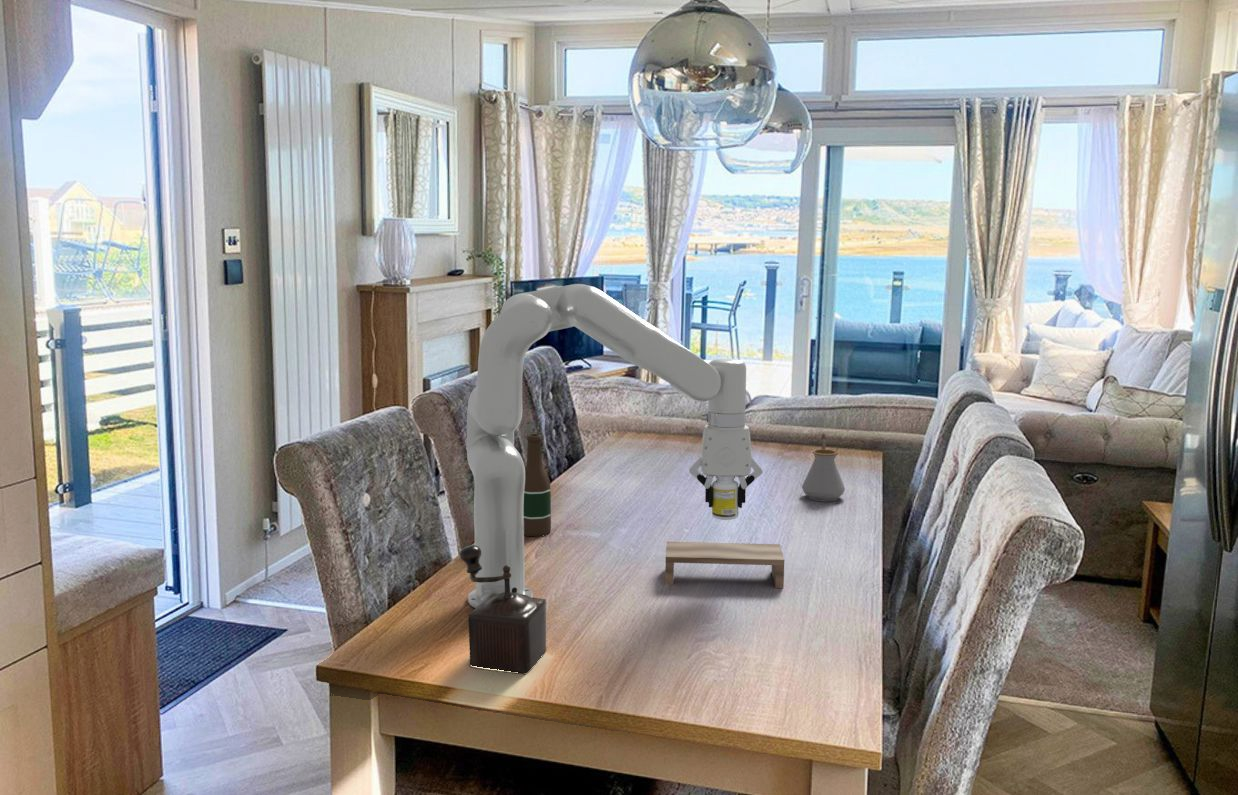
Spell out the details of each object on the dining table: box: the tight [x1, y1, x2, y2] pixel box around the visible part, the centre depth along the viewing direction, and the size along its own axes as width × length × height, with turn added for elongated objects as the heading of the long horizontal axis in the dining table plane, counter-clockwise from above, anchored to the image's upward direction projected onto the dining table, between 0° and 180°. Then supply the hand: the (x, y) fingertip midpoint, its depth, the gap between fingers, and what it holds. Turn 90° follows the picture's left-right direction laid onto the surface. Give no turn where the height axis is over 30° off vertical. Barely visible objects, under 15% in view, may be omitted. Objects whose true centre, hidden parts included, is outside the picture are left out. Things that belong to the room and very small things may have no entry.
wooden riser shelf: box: [664, 541, 785, 589], centre depth 203 cm, size 10×24×6 cm, turn 86°
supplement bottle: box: [711, 476, 739, 521], centre depth 201 cm, size 5×5×10 cm
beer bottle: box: [524, 433, 552, 537], centre depth 232 cm, size 8×8×24 cm
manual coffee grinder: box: [459, 544, 547, 674], centre depth 165 cm, size 16×11×18 cm
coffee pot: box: [801, 432, 846, 502], centre depth 269 cm, size 21×12×15 cm, turn 169°
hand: (725, 505), depth 201 cm, fingers closed on supplement bottle, 5 cm apart
